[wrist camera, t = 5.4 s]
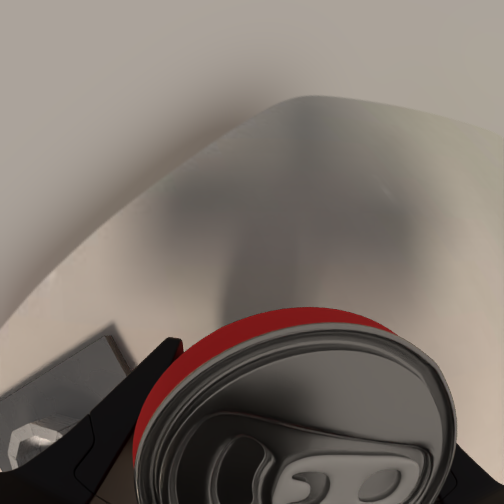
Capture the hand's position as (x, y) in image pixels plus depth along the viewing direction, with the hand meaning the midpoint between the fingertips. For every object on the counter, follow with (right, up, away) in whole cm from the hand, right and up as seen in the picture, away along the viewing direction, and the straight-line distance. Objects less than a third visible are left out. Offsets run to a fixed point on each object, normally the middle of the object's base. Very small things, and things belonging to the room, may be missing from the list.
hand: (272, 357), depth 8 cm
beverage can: (-1, -3, +6) cm, 7 cm away
